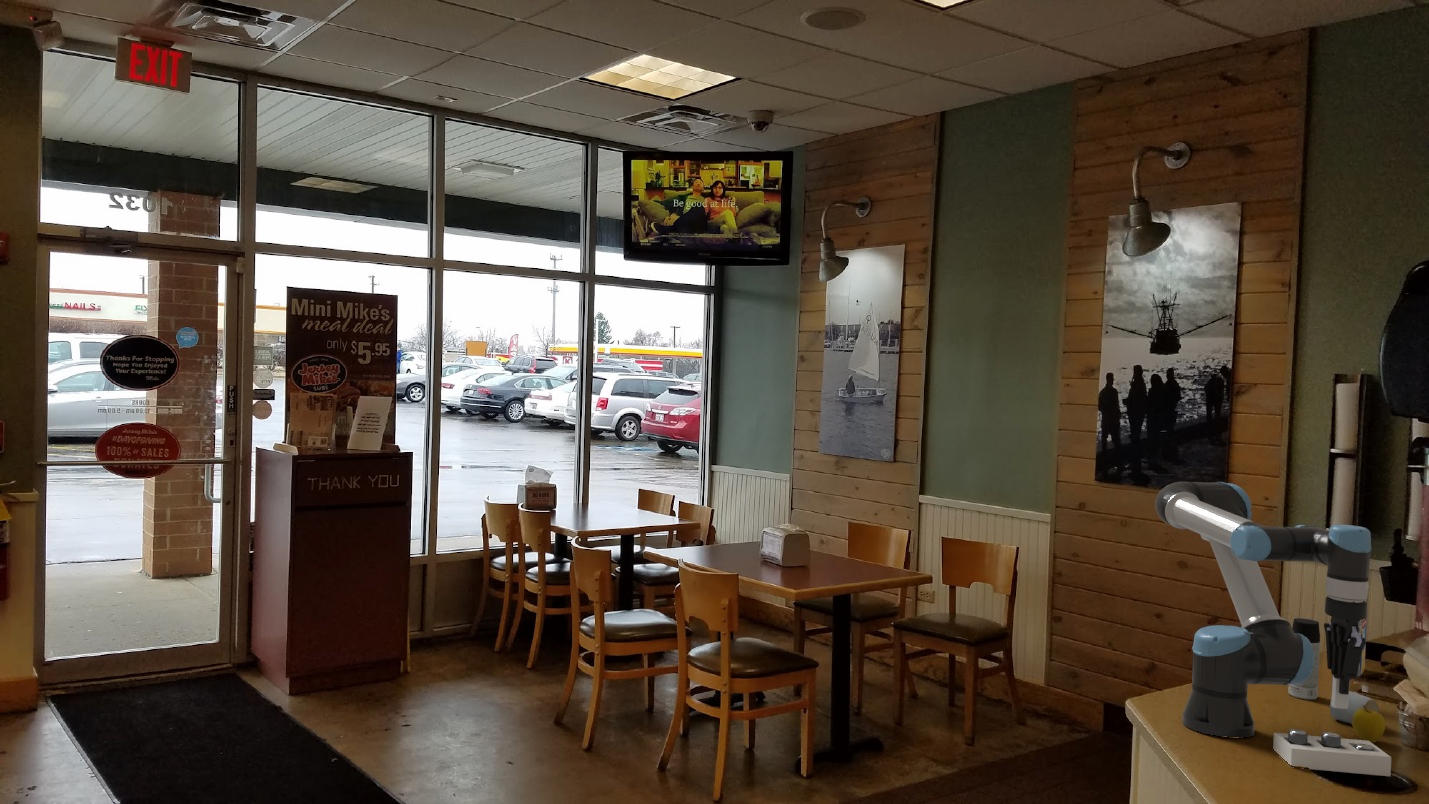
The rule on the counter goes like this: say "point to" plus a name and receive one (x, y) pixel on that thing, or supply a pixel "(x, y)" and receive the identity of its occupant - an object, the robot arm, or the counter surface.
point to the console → (1333, 756)
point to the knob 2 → (1363, 747)
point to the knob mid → (1330, 740)
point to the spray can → (1310, 685)
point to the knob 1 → (1297, 737)
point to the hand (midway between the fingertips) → (1339, 707)
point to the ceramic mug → (1353, 707)
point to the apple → (1368, 724)
